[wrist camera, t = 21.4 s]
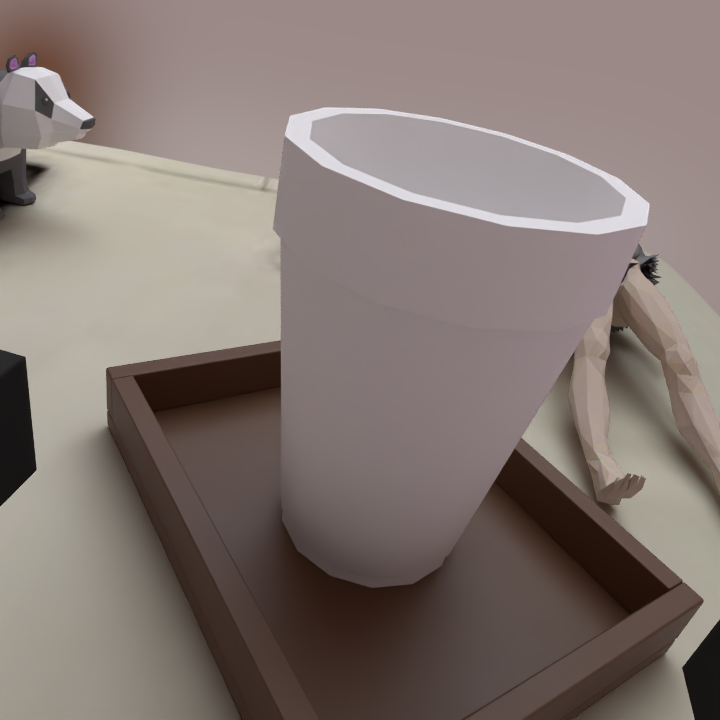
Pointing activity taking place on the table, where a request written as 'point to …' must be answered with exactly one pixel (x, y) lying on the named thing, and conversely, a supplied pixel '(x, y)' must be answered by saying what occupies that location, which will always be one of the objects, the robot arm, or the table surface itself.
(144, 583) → the table surface
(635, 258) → the anime figure
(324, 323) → the foam cup
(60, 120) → the giant panda
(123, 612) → the table surface
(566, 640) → the tray
